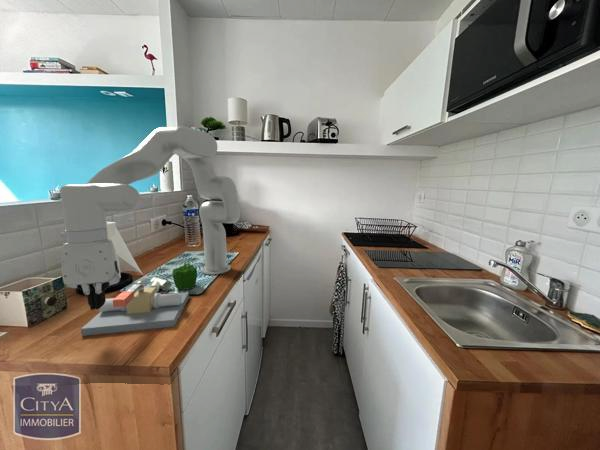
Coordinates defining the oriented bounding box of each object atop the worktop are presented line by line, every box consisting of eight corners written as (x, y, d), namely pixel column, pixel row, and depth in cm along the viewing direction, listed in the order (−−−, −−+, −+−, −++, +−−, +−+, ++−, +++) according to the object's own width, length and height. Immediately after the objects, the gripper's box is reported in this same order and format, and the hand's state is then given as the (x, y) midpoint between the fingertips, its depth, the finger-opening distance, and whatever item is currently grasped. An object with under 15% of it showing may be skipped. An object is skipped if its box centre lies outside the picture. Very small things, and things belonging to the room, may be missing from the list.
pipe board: (117, 303, 81) (114, 283, 80) (189, 297, 86) (187, 278, 84) (82, 335, 64) (78, 310, 62) (174, 326, 68) (172, 302, 67)
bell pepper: (171, 287, 94) (169, 262, 92) (193, 281, 99) (191, 257, 98) (177, 294, 88) (175, 267, 86) (201, 288, 93) (199, 262, 92)
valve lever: (137, 289, 75) (136, 279, 74) (149, 288, 75) (147, 278, 75) (112, 312, 61) (111, 300, 60) (127, 311, 62) (125, 299, 61)
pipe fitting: (154, 297, 87) (172, 288, 93) (152, 286, 86) (170, 279, 92) (142, 291, 91) (159, 284, 97) (140, 282, 90) (158, 275, 96)
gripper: (38, 241, 54) (51, 318, 57) (117, 237, 58) (125, 310, 61) (60, 234, 61) (71, 303, 64) (129, 231, 65) (136, 297, 68)
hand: (97, 306), depth 62 cm, fingers closed
